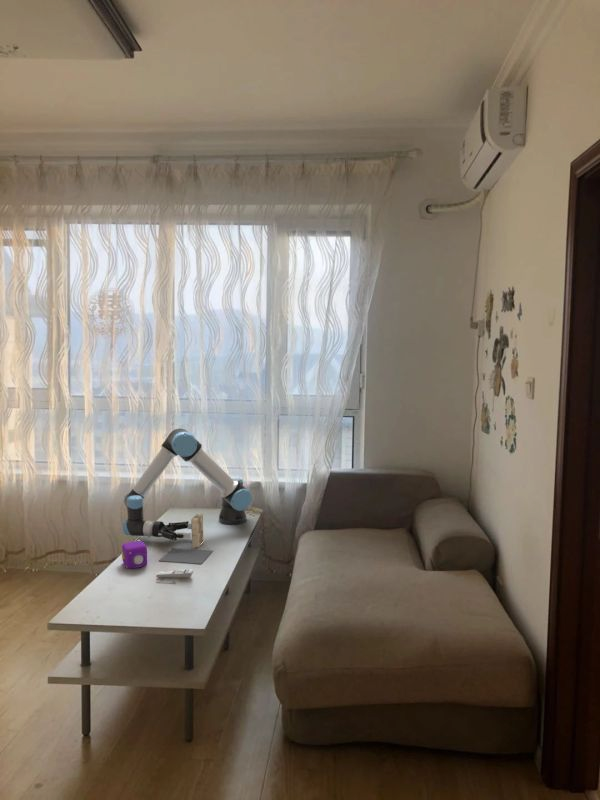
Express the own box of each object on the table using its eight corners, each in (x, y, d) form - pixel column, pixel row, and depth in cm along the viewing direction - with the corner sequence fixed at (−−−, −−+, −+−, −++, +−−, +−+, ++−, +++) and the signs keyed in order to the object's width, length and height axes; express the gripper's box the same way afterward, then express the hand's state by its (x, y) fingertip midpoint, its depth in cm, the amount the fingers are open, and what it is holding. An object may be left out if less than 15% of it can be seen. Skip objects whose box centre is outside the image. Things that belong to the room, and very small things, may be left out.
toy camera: (131, 573, 248) (130, 551, 247) (118, 564, 259) (117, 542, 258) (154, 567, 255) (153, 545, 254) (141, 558, 266) (140, 537, 264)
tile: (197, 541, 286) (197, 514, 285) (203, 542, 286) (202, 514, 284) (191, 547, 279) (191, 519, 277) (197, 548, 278) (197, 519, 276)
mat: (172, 548, 277) (172, 547, 277) (212, 551, 274) (212, 550, 274) (158, 561, 261) (158, 560, 261) (201, 564, 258) (201, 563, 258)
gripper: (164, 528, 298) (204, 530, 294) (143, 545, 273) (186, 548, 269) (164, 513, 297) (204, 515, 293) (142, 529, 272) (185, 532, 269)
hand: (195, 531), depth 281 cm, fingers open, 13 cm apart
